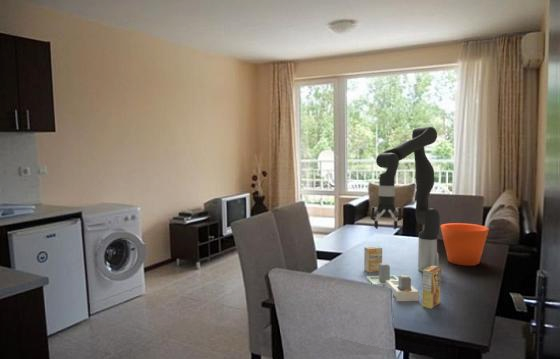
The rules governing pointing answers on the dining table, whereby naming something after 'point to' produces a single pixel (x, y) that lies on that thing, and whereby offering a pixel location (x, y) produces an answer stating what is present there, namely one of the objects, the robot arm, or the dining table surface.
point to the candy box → (431, 286)
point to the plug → (384, 272)
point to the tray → (376, 279)
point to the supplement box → (372, 258)
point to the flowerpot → (464, 242)
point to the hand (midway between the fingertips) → (385, 228)
